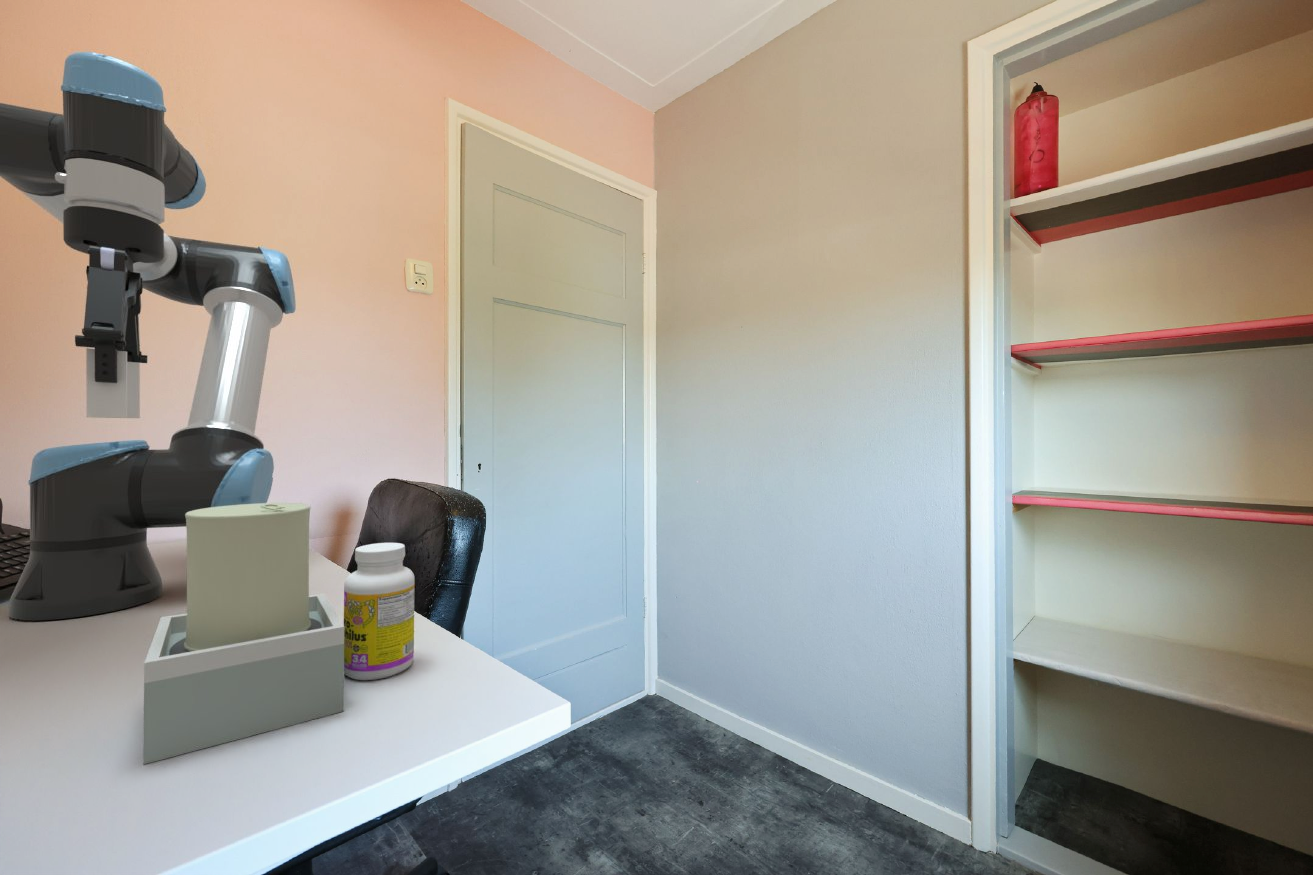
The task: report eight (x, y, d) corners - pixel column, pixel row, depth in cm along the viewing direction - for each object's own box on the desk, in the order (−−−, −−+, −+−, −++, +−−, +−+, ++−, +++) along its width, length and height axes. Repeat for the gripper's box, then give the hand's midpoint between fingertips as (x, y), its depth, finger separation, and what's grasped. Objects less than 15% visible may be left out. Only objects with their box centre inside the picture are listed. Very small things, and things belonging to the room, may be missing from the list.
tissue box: (160, 697, 51) (161, 616, 51) (323, 662, 59) (323, 593, 59) (143, 764, 40) (144, 662, 40) (343, 711, 48) (344, 626, 48)
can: (245, 659, 44) (246, 512, 44) (154, 650, 46) (155, 508, 46) (334, 622, 53) (334, 499, 53) (255, 615, 55) (255, 496, 55)
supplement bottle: (333, 668, 57) (334, 546, 57) (398, 651, 62) (399, 538, 62) (356, 689, 53) (357, 556, 53) (424, 668, 57) (425, 546, 58)
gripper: (84, 238, 65) (85, 417, 65) (34, 162, 45) (35, 416, 46) (169, 252, 69) (169, 418, 70) (156, 188, 50) (155, 418, 51)
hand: (116, 418), depth 58 cm, fingers open, 13 cm apart
